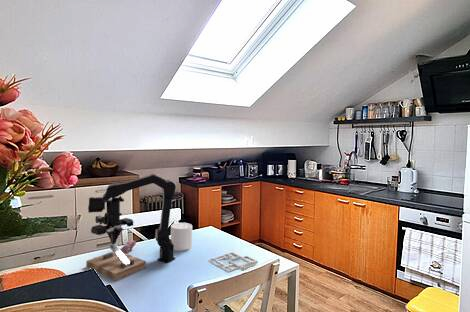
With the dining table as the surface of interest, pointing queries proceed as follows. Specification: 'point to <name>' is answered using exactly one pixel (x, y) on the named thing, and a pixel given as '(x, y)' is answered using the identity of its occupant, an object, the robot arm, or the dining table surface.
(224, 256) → the floor plan model
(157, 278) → the dining table surface
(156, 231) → the robot arm
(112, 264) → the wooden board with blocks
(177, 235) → the cup
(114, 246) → the strap
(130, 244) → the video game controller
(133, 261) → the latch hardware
